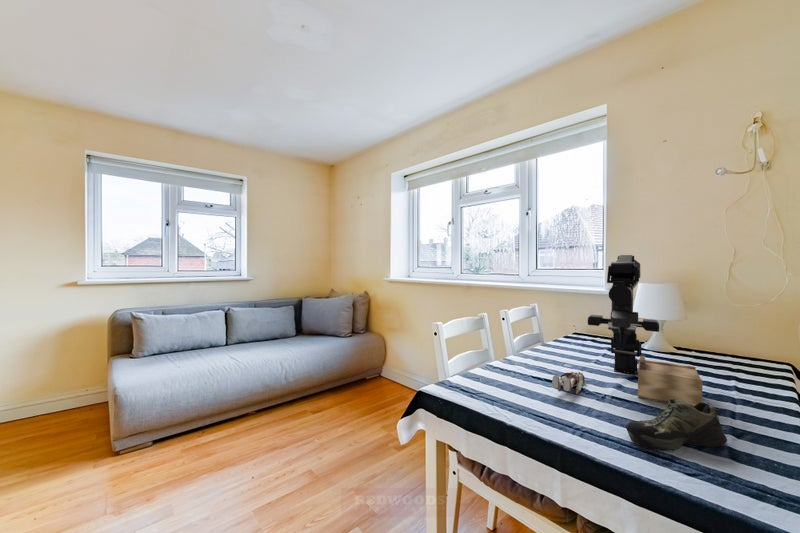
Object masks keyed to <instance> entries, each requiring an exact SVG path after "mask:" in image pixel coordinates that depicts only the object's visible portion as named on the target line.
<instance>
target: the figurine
mask: <svg viewBox="0 0 800 533" xmlns="http://www.w3.org/2000/svg"><path fill="white" fill-rule="evenodd" d="M559 376H560V377H559ZM585 382H586V380H585V375H584V374H583V372H579V371H578V372H575V371H570V372H565V373H563V374H561V375H553V376H552V381H551V386H552V388H554V389H555V388H556V389H557V390H559V391H560V390H561V388H563V390H564V391H567V392H570V391H571V390H572V388H573V387H575V386H576V387H575V395H578V394H579V393H580V392H581V390H582V387H583V383H585Z"/></svg>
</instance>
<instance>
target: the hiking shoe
mask: <svg viewBox="0 0 800 533" xmlns="http://www.w3.org/2000/svg"><path fill="white" fill-rule="evenodd" d="M719 411H720V409H718V408H715V407H714V406H713V405H711V404H709V403H706V402H704V401H702V402H700V403H698V404H697V405H695V406H693V405H691V404H690V403H686V402H683V401H681V400H677V401H676V400H674V399H672V398H671V399H669V403H667V405H666V407H665V409H663V411H662V412H660V413H659V414H658V415H657V416H655V417H654V418H652V419H644V420H633V421H629V422H628V423H627V424H626V426H625V429H626V431H627V433H628V436H629V438H630V440H631V441H632V442H633V443H635V444H637V445H639V446H641V447H644V448H646V449H649V450H653V451H661V452H674V451H676V450H678V449H680V447H681V446H683V445H693V446H700V447H705V448H718V447H719V448H720V447H723V446H724V445H726V443H727V442H728V437H727V436H726V435H725V433H724V431H723V428H722V425H721V421H720V419H719V415H718V412H719Z"/></svg>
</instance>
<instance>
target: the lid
mask: <svg viewBox="0 0 800 533" xmlns="http://www.w3.org/2000/svg"><path fill="white" fill-rule="evenodd" d="M639 359H640V361H638V360H637V370H638V369H640V370H647V371H653V372H659V373H666V374H672V375H679V376H685V377H692V378H698V379H701V376H700V375H699V373H698V371H697V369H696V370H695V369H688V368H681V367H674V366H667V365H660V364H654V363H647V362H645V360H646V356H645V355H641V356H639Z"/></svg>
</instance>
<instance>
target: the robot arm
mask: <svg viewBox="0 0 800 533" xmlns="http://www.w3.org/2000/svg"><path fill="white" fill-rule="evenodd" d="M607 267H608V268H607V276H606V277H607V279H606V284H612V285H611V287H610V289H609V290H608V298H609V299H610V301H611V312H610V318H608V317H607V318H605V317H604V315H598V314H591V315H589V316H588V317H587V325H588V326H597V327H599V326H601V324H604V325H607V329H608V330H610V331H611V332H612V335H613V336H611V337H610V354H614V368H613V370H614V372H620V373H627V374H633V375H636V373H637V372H638V358H640V356H642V343H641V341H640V340H639V339H638V336H637V333H636V332H637V328H643V330H645V331H647V332H654V333H655V332H657V333H658V332H660V323H659V322H660V321H658V320H656V319H650V318H649V319H648V318H647V319H646V318H643V319H642V321H639V312H638V311H634V289H635V288H636V287H637V286H638V284H639V282H640V278H641V263H640V262H639V261H637V260H636V259H635V255H633V254H620V255H617V260H616V261H611V263H610V265H609V264H608V266H607ZM636 357H637V358H636Z"/></svg>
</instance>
